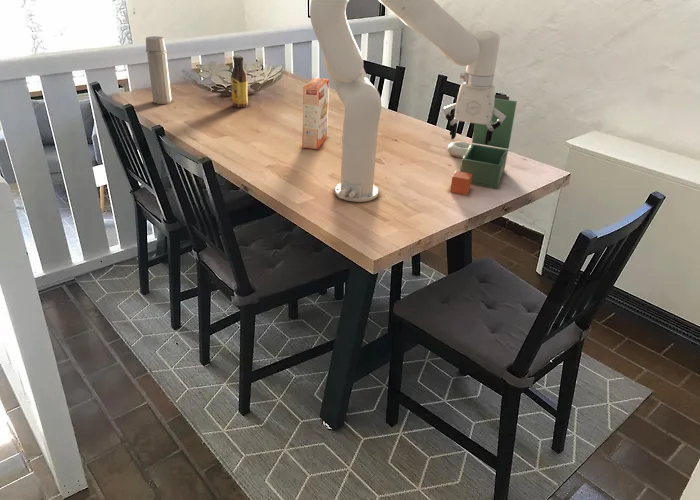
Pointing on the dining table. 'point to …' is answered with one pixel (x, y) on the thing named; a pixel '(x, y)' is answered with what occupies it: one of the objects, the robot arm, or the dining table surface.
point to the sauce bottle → (239, 83)
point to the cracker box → (315, 113)
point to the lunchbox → (484, 165)
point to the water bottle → (158, 69)
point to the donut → (459, 148)
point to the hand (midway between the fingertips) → (469, 140)
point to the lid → (504, 130)
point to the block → (461, 183)
